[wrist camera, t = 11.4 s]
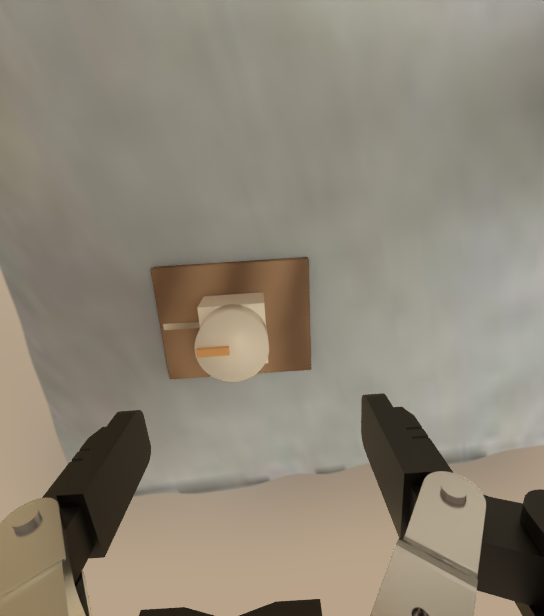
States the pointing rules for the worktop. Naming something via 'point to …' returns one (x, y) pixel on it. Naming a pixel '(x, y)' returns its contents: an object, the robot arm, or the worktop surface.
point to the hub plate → (235, 280)
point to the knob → (232, 336)
